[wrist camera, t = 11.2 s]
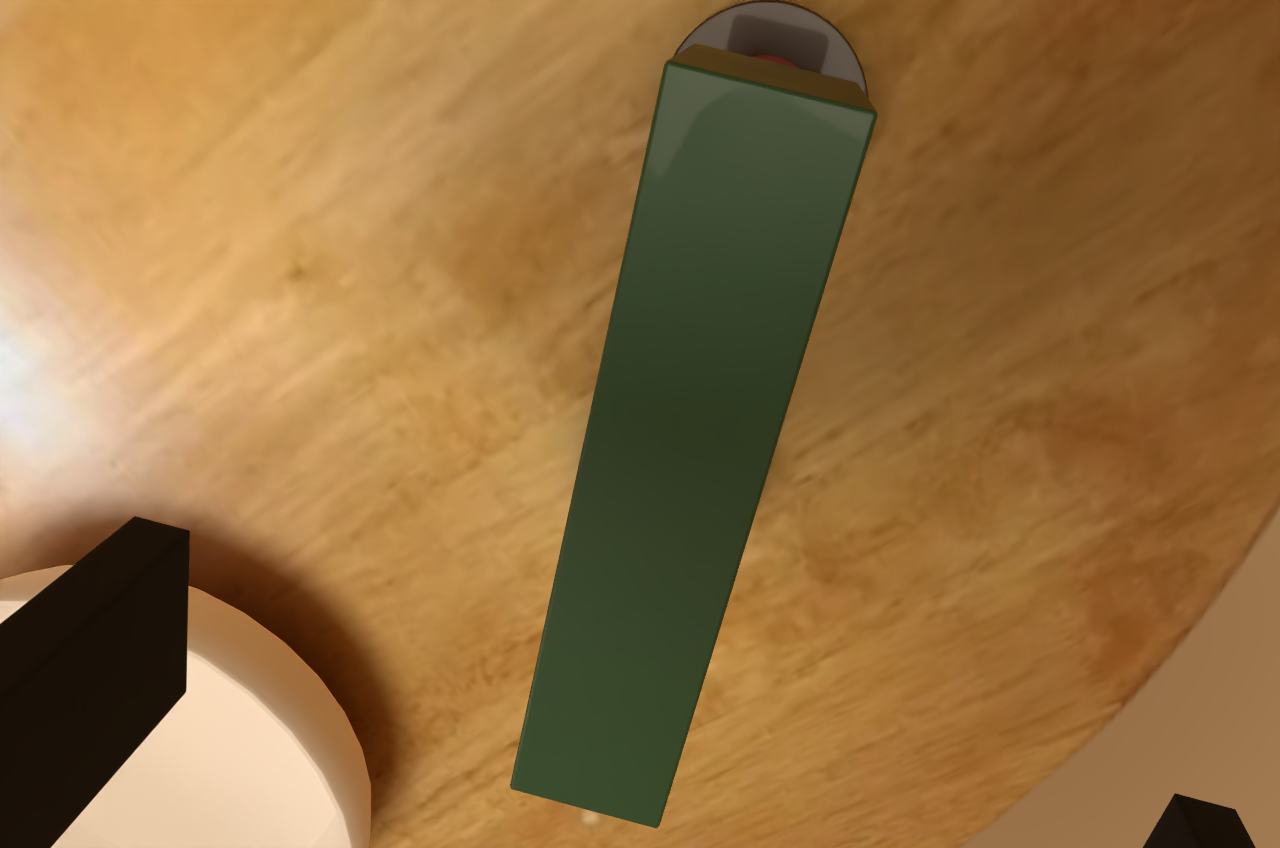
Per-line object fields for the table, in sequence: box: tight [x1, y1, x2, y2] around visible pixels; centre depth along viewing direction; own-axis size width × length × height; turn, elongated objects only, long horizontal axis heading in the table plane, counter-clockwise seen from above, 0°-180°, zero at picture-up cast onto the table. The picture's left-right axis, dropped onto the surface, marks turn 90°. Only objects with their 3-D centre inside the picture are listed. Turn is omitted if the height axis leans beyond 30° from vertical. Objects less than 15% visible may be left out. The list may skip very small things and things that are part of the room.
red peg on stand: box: [673, 0, 868, 98], centre depth 25 cm, size 6×6×9 cm
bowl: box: [0, 565, 371, 848], centre depth 39 cm, size 20×20×6 cm
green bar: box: [510, 44, 877, 828], centre depth 22 cm, size 4×16×5 cm, turn 168°
